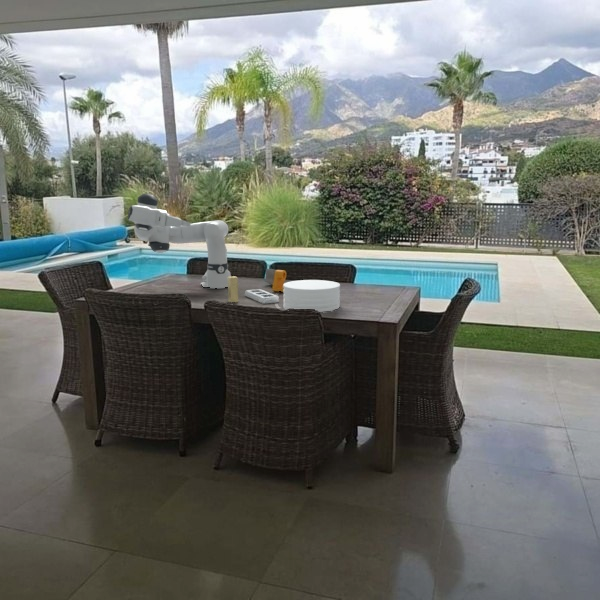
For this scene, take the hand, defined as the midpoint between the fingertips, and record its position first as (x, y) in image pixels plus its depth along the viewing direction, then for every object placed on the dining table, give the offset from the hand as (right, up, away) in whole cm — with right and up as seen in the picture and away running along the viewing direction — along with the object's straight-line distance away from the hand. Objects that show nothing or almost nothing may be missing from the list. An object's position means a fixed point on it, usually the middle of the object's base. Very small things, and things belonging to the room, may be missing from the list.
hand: (189, 224), depth 293 cm
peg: (+21, -39, +9) cm, 45 cm away
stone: (+41, -30, +56) cm, 76 cm away
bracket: (+46, -33, +39) cm, 69 cm away
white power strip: (+35, -38, +16) cm, 54 cm away
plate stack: (+61, -42, -4) cm, 74 cm away
